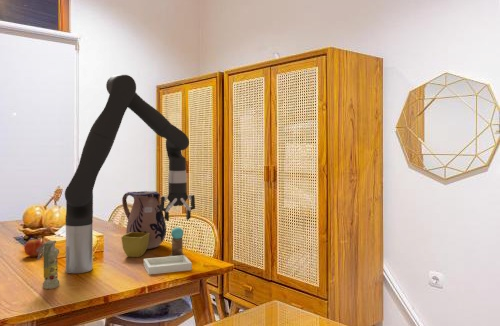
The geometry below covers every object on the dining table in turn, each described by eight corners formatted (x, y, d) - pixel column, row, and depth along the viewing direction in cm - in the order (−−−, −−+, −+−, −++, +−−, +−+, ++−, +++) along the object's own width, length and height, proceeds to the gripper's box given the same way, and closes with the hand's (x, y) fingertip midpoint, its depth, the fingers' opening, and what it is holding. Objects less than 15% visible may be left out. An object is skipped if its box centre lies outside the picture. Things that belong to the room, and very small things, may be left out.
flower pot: (140, 259, 171) (140, 237, 171) (120, 257, 173) (120, 236, 172) (149, 253, 180) (150, 233, 179) (131, 252, 181) (131, 231, 181)
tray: (148, 274, 152) (148, 267, 152) (143, 265, 163) (143, 258, 163) (191, 269, 158) (191, 263, 158) (184, 261, 169) (184, 255, 169)
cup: (171, 259, 172) (171, 240, 172) (168, 255, 178) (168, 237, 177) (185, 257, 174) (186, 239, 174) (182, 254, 180) (182, 236, 179)
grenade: (61, 283, 141) (60, 239, 140) (52, 291, 134) (51, 244, 133) (42, 283, 140) (41, 239, 140) (32, 290, 134) (31, 244, 133)
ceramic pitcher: (157, 253, 181) (157, 195, 179) (111, 250, 184) (111, 193, 183) (171, 243, 198) (171, 190, 197) (129, 241, 201) (129, 189, 200)
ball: (172, 241, 172) (172, 229, 172) (170, 238, 177) (170, 226, 177) (184, 240, 174) (184, 228, 174) (181, 237, 179) (181, 225, 179)
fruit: (20, 257, 171) (20, 238, 170) (34, 253, 177) (33, 234, 177) (34, 259, 169) (34, 239, 168) (47, 255, 175) (47, 236, 175)
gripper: (162, 182, 168) (162, 223, 169) (196, 181, 173) (196, 220, 174) (158, 181, 175) (158, 219, 176) (192, 180, 180) (192, 217, 181)
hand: (177, 220), depth 175 cm, fingers open, 8 cm apart
